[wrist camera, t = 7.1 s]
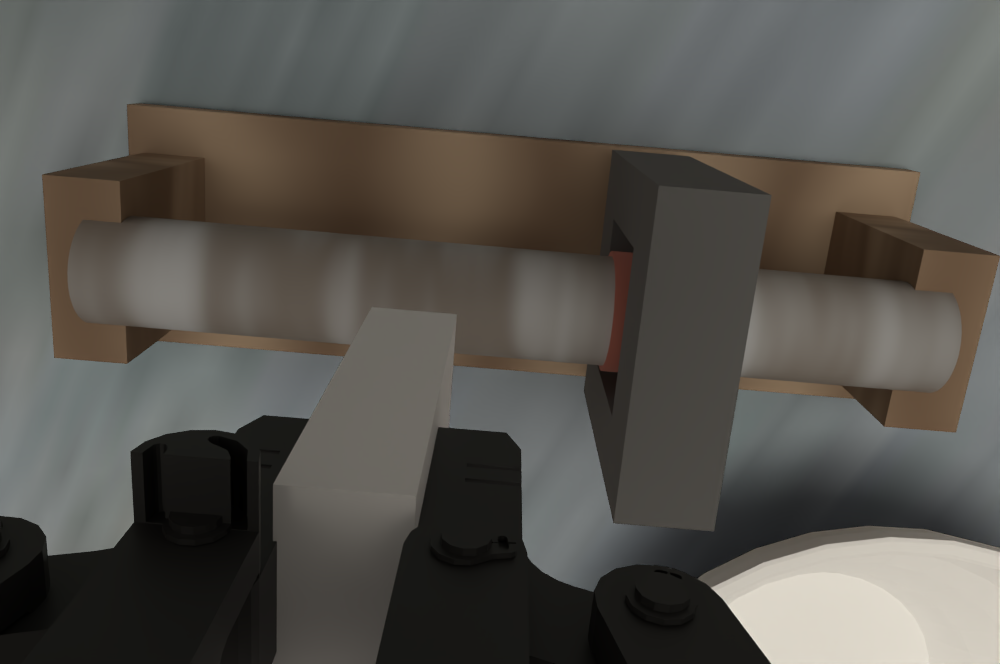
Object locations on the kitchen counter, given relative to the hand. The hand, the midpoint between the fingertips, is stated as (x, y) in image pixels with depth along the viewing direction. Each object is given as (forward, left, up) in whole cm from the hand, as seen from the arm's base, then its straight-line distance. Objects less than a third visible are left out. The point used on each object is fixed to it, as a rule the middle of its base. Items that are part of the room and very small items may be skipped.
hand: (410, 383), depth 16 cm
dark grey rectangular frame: (+1, +6, -13) cm, 14 cm away
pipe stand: (+1, +2, -16) cm, 16 cm away
